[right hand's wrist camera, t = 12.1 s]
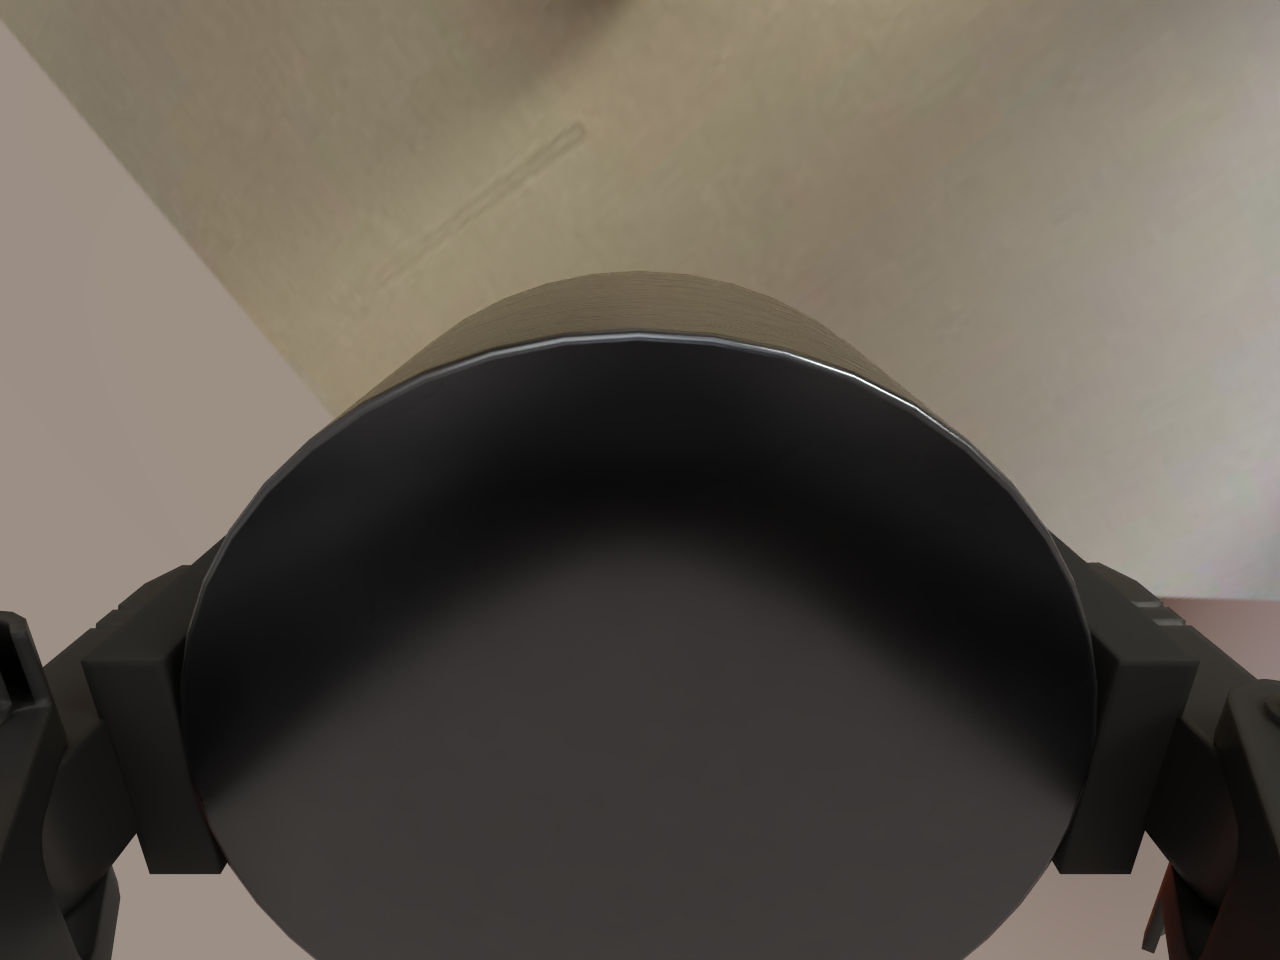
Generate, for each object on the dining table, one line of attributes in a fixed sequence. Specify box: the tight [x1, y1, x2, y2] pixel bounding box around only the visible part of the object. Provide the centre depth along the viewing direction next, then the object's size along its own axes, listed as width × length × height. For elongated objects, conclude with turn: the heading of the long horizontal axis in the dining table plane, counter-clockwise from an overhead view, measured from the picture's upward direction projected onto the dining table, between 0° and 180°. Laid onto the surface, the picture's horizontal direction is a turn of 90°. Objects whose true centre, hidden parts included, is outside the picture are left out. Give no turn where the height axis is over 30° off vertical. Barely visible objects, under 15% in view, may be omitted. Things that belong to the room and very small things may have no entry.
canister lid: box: [180, 271, 1098, 960], centre depth 9 cm, size 9×9×4 cm
